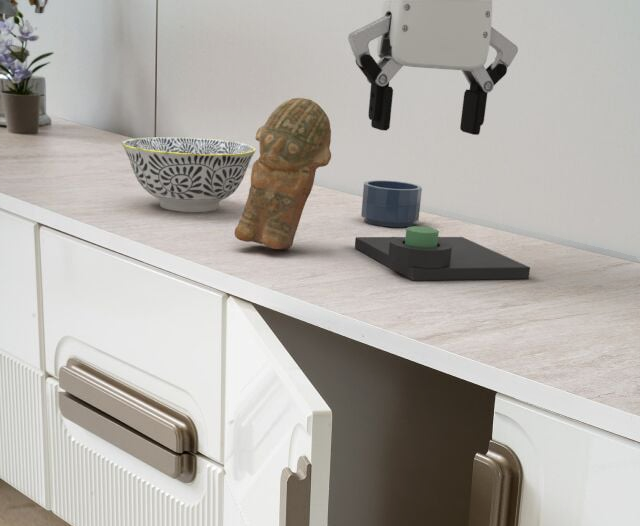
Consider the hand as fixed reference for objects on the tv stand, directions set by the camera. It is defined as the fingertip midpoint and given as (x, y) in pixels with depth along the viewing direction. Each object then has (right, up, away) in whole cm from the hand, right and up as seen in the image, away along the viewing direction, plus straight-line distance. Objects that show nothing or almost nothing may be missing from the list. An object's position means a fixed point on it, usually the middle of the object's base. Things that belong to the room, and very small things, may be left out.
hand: (425, 130), depth 111 cm
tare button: (0, -11, +1) cm, 11 cm away
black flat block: (+2, -12, +7) cm, 14 cm away
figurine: (-14, -10, +8) cm, 19 cm away
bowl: (-27, -1, +27) cm, 38 cm away
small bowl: (-2, -3, +27) cm, 27 cm away
